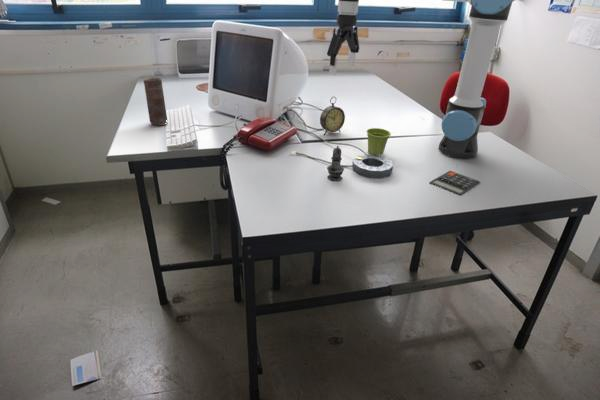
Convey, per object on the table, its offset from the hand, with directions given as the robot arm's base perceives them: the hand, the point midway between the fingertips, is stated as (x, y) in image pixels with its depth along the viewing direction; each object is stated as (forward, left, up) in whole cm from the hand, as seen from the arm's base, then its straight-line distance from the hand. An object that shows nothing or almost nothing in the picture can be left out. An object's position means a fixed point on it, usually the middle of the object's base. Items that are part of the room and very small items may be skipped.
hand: (341, 71), depth 164 cm
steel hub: (-26, +23, -27) cm, 44 cm away
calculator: (-54, +15, -28) cm, 63 cm away
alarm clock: (+4, -2, -28) cm, 28 cm away
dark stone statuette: (-18, +37, -28) cm, 49 cm away
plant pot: (-21, +7, -28) cm, 35 cm away
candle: (+70, +36, -28) cm, 83 cm away
